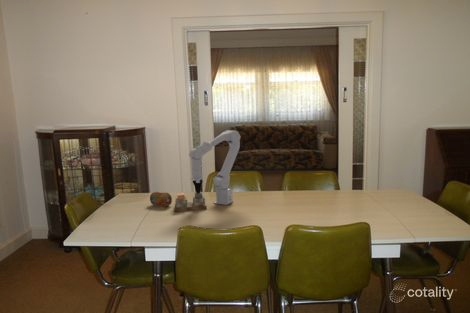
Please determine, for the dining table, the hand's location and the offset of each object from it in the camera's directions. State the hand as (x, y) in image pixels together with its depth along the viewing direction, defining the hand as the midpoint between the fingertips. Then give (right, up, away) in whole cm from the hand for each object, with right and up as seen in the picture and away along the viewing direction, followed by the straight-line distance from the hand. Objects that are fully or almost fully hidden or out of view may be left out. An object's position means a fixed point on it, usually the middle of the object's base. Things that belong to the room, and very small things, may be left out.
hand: (198, 192), depth 207 cm
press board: (-4, -9, +1) cm, 10 cm away
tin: (-23, -9, +9) cm, 26 cm away
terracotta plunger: (-10, -5, -1) cm, 11 cm away
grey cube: (0, -4, +1) cm, 4 cm away
